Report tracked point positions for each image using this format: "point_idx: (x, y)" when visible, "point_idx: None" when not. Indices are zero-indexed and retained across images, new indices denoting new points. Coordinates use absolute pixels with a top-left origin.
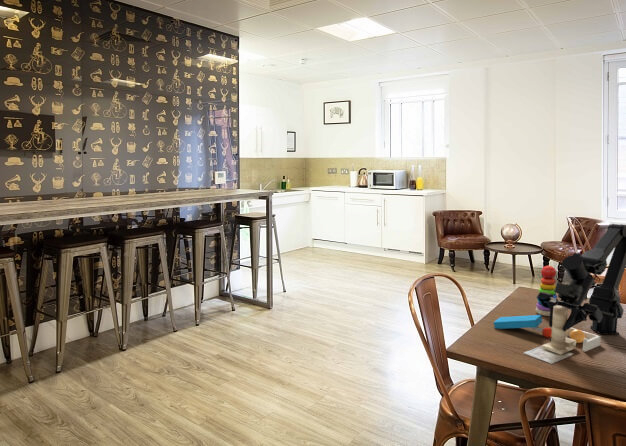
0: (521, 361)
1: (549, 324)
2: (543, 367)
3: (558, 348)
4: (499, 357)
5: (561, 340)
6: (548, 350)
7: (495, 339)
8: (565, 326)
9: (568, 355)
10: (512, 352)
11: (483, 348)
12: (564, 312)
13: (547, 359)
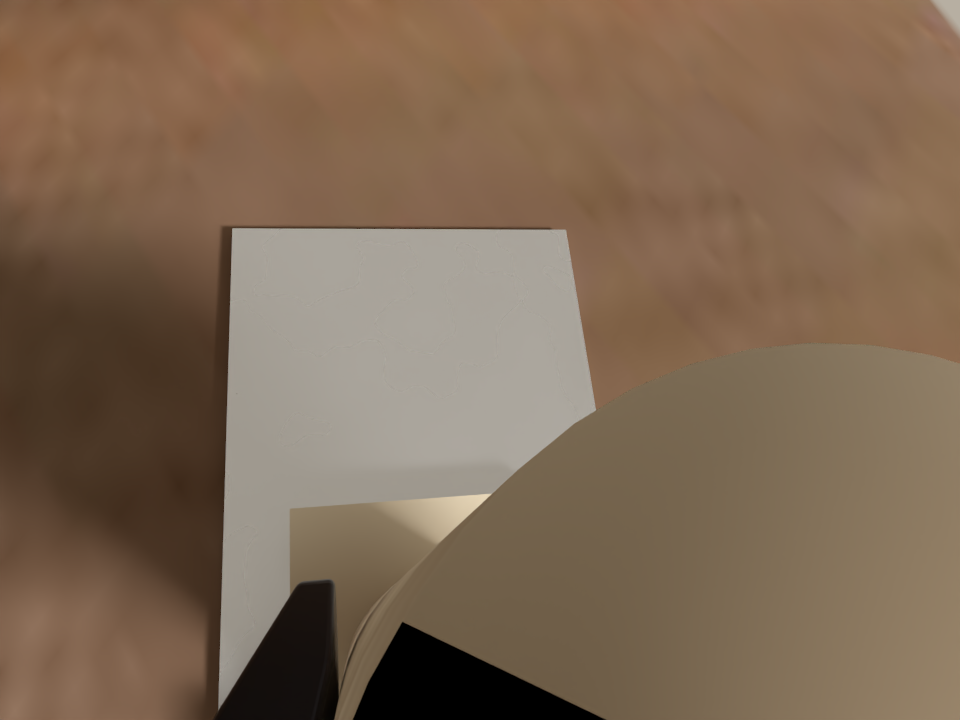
0: (442, 76)
1: None
2: (239, 110)
3: (377, 585)
4: (593, 14)
5: (361, 624)
6: None
7: (944, 311)
8: (274, 639)
9: (229, 617)
10: (629, 177)
11: (790, 64)
12: (351, 693)
13: (314, 271)
